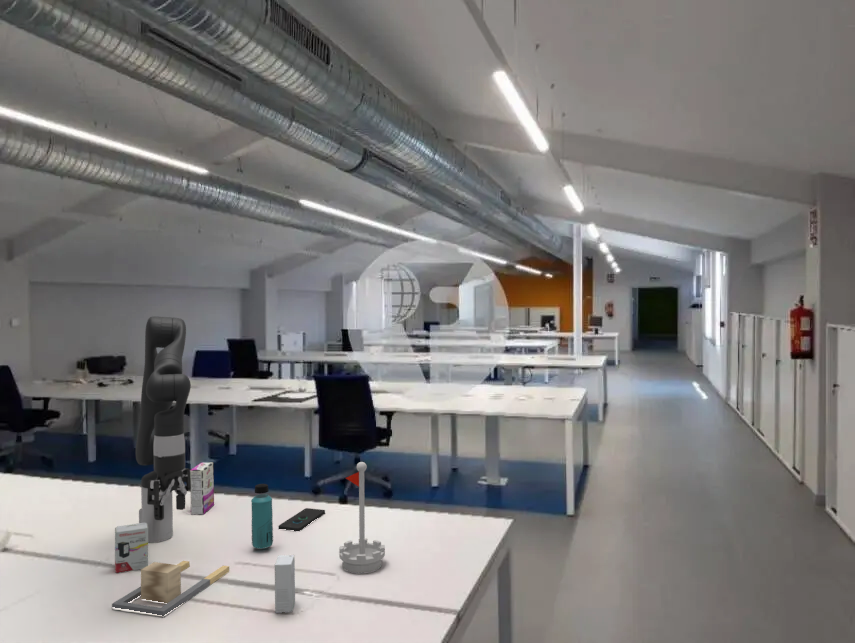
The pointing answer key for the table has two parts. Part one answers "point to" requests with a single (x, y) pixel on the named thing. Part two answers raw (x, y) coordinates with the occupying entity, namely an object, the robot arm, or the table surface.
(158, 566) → the wooden block
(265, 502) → the beverage bottle
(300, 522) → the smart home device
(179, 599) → the rail bay
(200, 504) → the candy bar box
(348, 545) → the flag stand
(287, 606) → the skincare box
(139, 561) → the ink box
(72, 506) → the table surface
